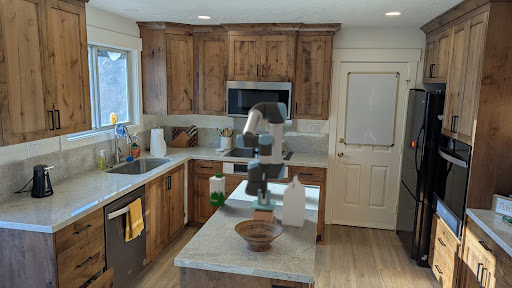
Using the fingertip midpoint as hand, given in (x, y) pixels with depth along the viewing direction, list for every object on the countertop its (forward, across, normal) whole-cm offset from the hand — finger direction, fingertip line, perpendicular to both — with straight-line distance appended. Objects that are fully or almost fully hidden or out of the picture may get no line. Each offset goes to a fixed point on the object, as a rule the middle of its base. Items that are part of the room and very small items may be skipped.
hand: (264, 203), depth 198 cm
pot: (+10, 0, 0) cm, 10 cm away
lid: (+1, 0, 0) cm, 1 cm away
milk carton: (+10, -19, -32) cm, 39 cm away
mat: (+10, -8, -15) cm, 20 cm away
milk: (+10, -1, +17) cm, 20 cm away
